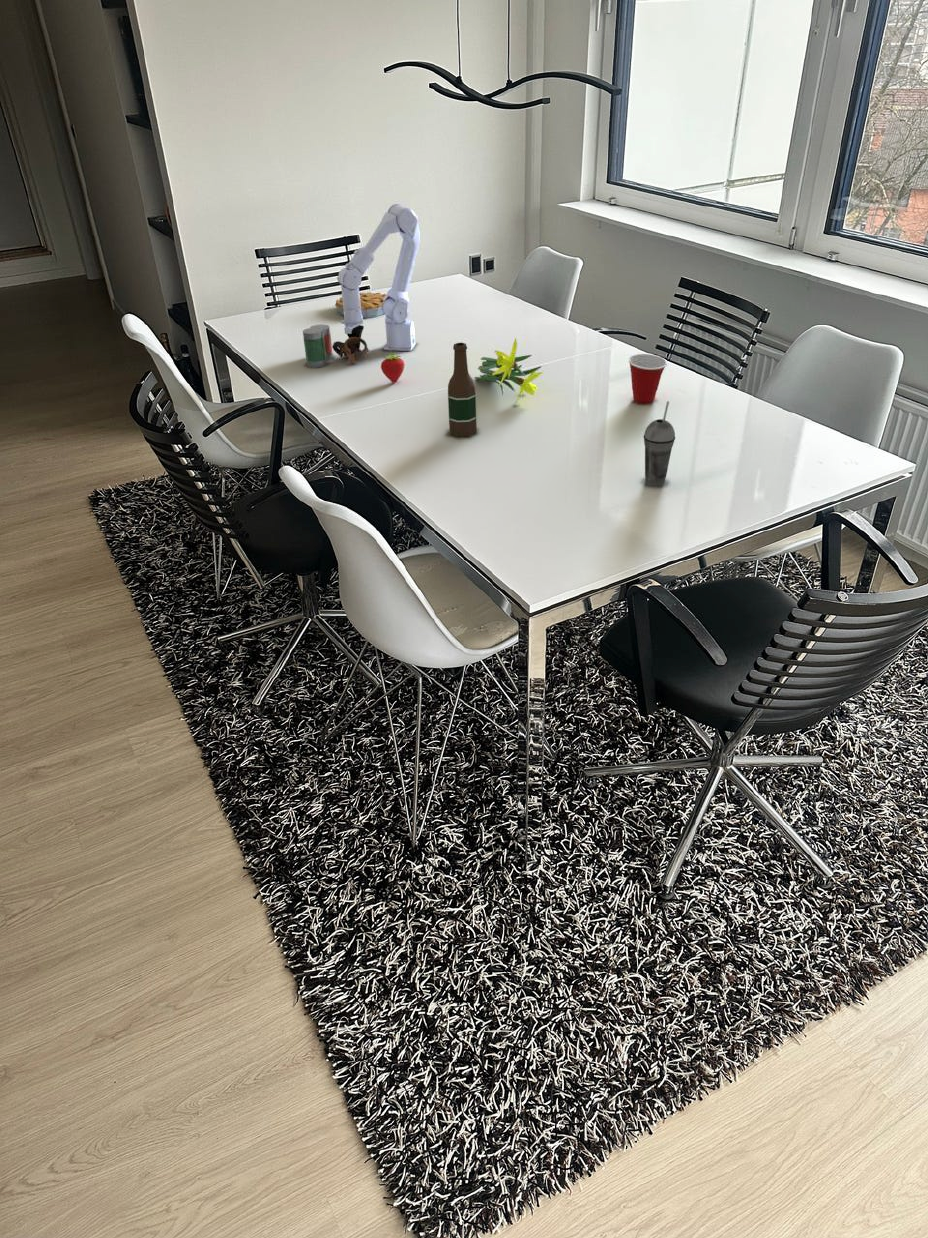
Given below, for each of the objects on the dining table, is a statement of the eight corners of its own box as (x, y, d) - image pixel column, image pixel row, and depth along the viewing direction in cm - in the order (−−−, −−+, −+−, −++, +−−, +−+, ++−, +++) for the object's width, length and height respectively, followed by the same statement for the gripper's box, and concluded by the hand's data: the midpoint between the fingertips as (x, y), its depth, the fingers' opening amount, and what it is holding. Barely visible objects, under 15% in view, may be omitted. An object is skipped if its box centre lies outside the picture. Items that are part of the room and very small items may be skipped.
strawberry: (378, 382, 275) (376, 350, 269) (400, 377, 278) (398, 345, 272) (386, 387, 271) (384, 355, 265) (409, 383, 274) (407, 350, 268)
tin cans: (335, 354, 298) (331, 321, 292) (323, 367, 288) (319, 333, 281) (316, 354, 299) (312, 320, 293) (304, 367, 289) (299, 333, 282)
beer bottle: (481, 428, 243) (479, 340, 229) (472, 439, 237) (469, 349, 223) (454, 425, 245) (450, 338, 231) (444, 436, 239) (440, 347, 225)
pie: (369, 322, 328) (368, 308, 325) (324, 314, 338) (323, 300, 335) (404, 307, 343) (404, 293, 340) (360, 300, 353) (359, 287, 350)
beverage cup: (636, 476, 215) (642, 396, 204) (665, 474, 216) (674, 395, 204) (643, 490, 209) (651, 408, 198) (674, 488, 210) (683, 406, 198)
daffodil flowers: (517, 374, 279) (565, 379, 248) (483, 406, 278) (527, 415, 247) (485, 331, 272) (530, 330, 240) (450, 363, 271) (491, 366, 240)
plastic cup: (650, 410, 249) (653, 368, 242) (617, 401, 255) (620, 360, 249) (670, 399, 256) (675, 358, 249) (638, 391, 262) (642, 350, 255)
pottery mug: (369, 355, 298) (371, 337, 291) (364, 376, 294) (366, 358, 286) (333, 346, 297) (335, 328, 290) (328, 367, 292) (329, 349, 285)
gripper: (346, 300, 295) (350, 341, 303) (333, 313, 284) (338, 355, 291) (367, 301, 294) (370, 342, 302) (355, 313, 283) (359, 356, 290)
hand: (356, 348), depth 297 cm, fingers closed
